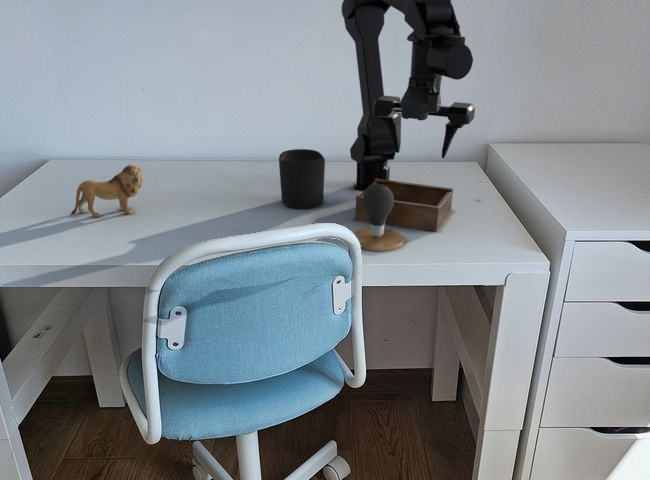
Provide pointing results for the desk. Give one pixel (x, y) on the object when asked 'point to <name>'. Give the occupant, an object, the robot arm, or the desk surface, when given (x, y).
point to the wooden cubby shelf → (412, 205)
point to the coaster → (379, 240)
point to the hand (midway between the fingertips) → (420, 155)
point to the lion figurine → (110, 190)
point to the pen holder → (302, 178)
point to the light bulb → (378, 207)
